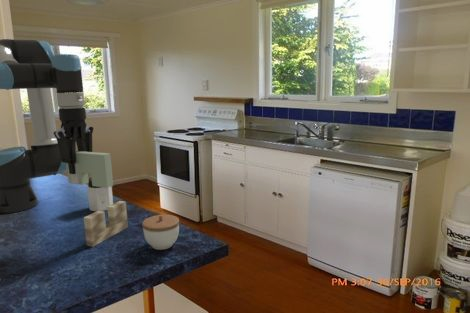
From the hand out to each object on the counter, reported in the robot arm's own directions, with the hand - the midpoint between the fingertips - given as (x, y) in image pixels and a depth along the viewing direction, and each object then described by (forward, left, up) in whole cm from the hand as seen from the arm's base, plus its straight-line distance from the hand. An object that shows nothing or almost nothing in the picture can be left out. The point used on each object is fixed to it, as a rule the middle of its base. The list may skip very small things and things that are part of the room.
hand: (80, 182), depth 115 cm
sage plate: (+4, +2, 0) cm, 4 cm away
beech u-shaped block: (+7, +5, -17) cm, 19 cm away
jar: (-20, +14, -18) cm, 30 cm away
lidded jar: (+25, +14, -18) cm, 33 cm away
